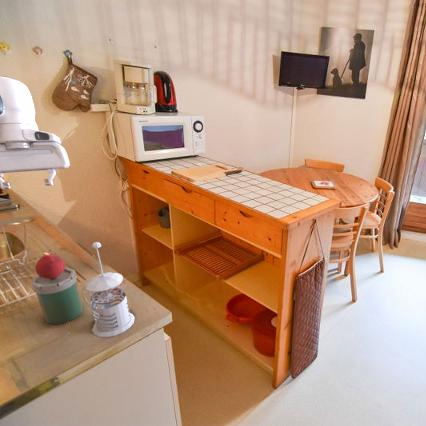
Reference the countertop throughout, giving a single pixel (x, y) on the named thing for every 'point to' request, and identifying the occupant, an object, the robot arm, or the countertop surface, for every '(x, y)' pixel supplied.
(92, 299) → the french press
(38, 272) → the onion
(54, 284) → the jar
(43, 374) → the countertop surface
